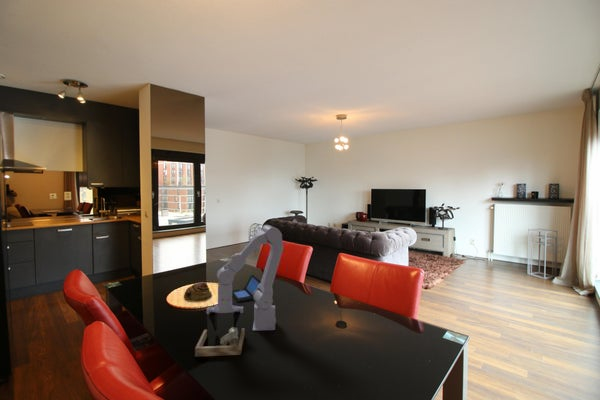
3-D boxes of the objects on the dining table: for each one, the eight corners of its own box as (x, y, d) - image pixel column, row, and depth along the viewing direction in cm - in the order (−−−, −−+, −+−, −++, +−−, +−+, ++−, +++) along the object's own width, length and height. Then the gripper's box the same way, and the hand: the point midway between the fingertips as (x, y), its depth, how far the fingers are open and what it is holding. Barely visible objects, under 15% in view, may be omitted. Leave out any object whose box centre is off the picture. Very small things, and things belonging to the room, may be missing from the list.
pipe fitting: (220, 349, 104) (238, 346, 105) (219, 339, 103) (238, 336, 105) (221, 338, 111) (238, 335, 113) (220, 329, 111) (237, 325, 113)
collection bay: (244, 335, 113) (244, 328, 113) (240, 354, 100) (240, 346, 100) (204, 336, 112) (204, 329, 111) (195, 356, 99) (195, 348, 98)
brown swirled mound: (207, 301, 146) (207, 286, 146) (179, 300, 146) (179, 286, 146) (215, 291, 159) (215, 278, 159) (189, 291, 160) (189, 277, 159)
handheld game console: (229, 293, 157) (229, 277, 157) (252, 289, 164) (252, 274, 163) (238, 303, 144) (238, 286, 143) (262, 298, 150) (262, 282, 150)
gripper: (244, 293, 117) (244, 324, 118) (209, 293, 116) (209, 325, 117) (242, 300, 110) (242, 333, 111) (205, 300, 109) (205, 334, 110)
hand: (225, 329), depth 114 cm, fingers open, 7 cm apart
